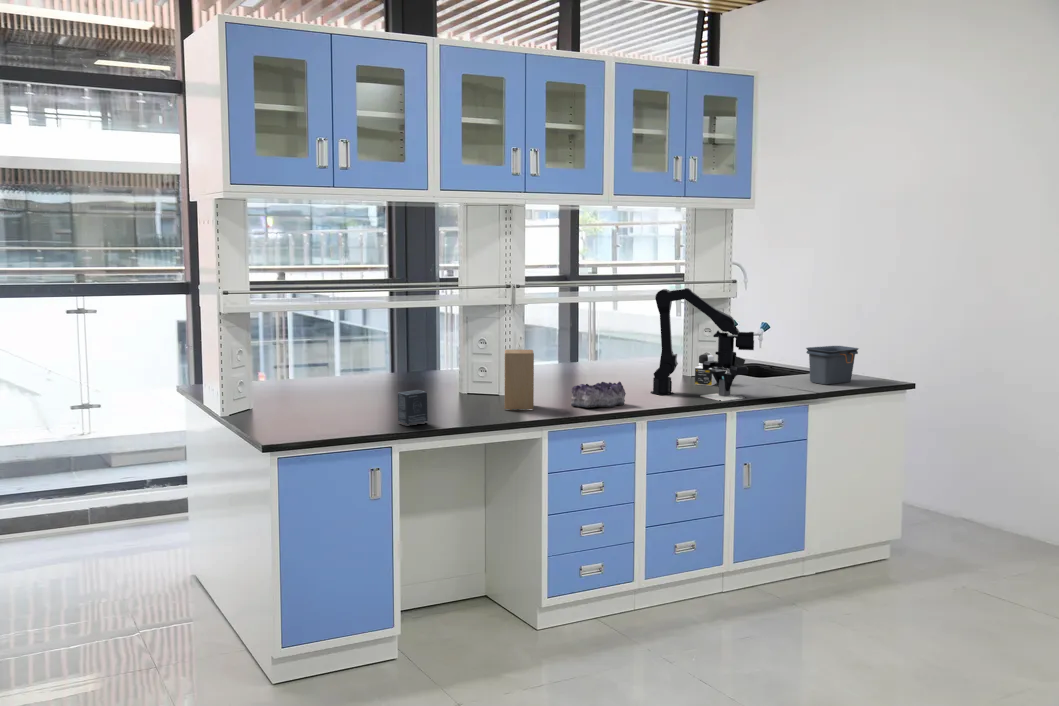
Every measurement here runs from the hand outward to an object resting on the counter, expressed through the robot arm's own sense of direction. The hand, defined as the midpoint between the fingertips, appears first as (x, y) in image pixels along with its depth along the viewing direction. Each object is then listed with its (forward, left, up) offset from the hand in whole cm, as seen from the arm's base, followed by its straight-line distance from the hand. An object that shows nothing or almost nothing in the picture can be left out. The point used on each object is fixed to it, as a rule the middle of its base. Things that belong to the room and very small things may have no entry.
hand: (724, 390), depth 365 cm
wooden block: (-78, +21, -2) cm, 81 cm away
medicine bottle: (+14, +25, -2) cm, 29 cm away
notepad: (-2, -1, -2) cm, 3 cm away
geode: (-52, +9, -3) cm, 53 cm away
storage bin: (+62, +1, -3) cm, 62 cm away
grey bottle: (0, 0, -2) cm, 2 cm away
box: (-122, +15, -2) cm, 123 cm away
